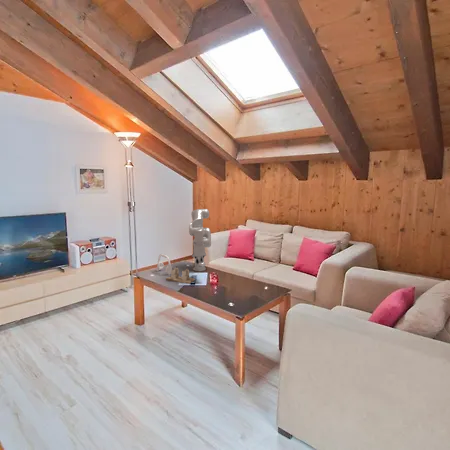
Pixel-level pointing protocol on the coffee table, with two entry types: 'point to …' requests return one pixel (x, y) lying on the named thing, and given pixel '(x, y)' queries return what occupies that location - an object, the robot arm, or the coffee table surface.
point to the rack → (178, 278)
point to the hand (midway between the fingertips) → (199, 262)
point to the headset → (160, 265)
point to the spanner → (200, 263)
